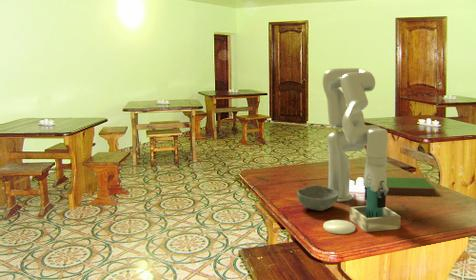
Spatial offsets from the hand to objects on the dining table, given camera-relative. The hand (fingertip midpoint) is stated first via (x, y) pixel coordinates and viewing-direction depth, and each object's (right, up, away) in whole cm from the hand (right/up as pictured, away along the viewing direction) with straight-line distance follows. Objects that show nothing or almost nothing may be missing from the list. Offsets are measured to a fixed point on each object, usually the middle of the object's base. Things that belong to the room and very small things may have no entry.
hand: (374, 203), depth 166 cm
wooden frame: (0, -8, +2) cm, 8 cm away
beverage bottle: (0, -8, +2) cm, 8 cm away
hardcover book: (+29, 0, +46) cm, 55 cm away
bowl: (-19, -6, +20) cm, 28 cm away
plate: (-14, -9, -2) cm, 17 cm away
